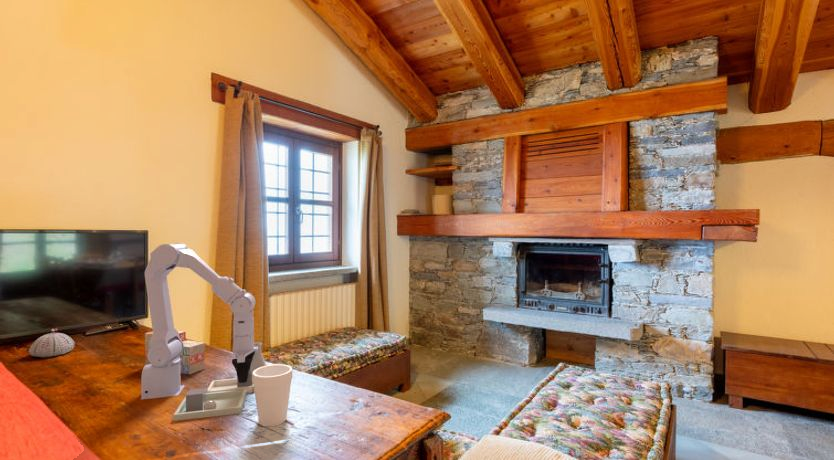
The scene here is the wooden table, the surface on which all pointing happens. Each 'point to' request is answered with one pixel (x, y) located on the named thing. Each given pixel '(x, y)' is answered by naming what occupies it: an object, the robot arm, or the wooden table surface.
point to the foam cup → (272, 393)
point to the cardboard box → (185, 354)
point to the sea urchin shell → (51, 345)
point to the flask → (257, 358)
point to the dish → (227, 386)
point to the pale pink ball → (210, 405)
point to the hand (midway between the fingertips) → (243, 379)
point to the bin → (224, 405)
